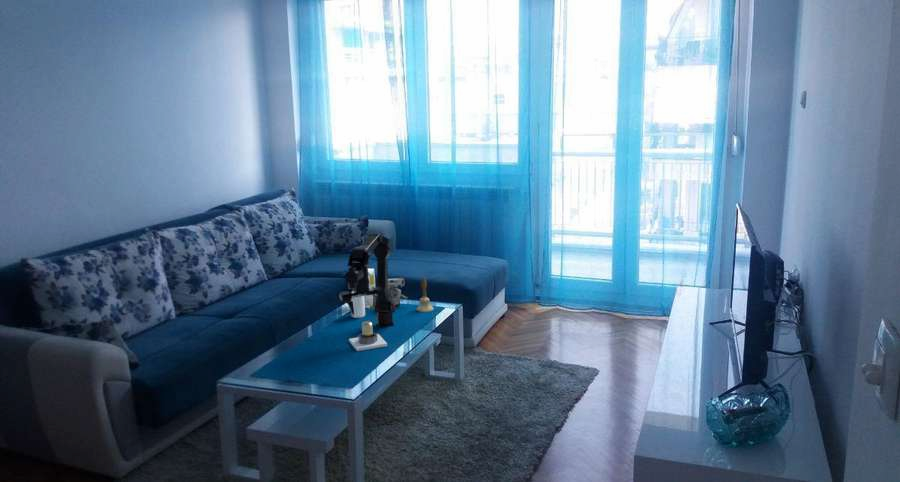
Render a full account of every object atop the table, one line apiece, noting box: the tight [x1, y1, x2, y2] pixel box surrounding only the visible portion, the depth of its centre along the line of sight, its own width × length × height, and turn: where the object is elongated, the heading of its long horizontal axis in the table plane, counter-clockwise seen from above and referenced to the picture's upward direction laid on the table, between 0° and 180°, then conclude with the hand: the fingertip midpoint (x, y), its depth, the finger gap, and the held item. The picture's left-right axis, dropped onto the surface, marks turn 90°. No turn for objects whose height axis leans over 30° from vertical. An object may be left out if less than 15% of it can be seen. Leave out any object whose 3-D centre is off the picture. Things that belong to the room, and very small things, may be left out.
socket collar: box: [357, 332, 378, 344], centre depth 291 cm, size 8×8×2 cm
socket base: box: [348, 333, 388, 352], centre depth 292 cm, size 13×13×1 cm
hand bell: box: [416, 277, 434, 313], centre depth 335 cm, size 8×8×16 cm
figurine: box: [388, 277, 410, 307], centre depth 339 cm, size 9×12×15 cm
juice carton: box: [364, 268, 376, 309], centre depth 343 cm, size 8×9×19 cm
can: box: [350, 290, 366, 319], centre depth 328 cm, size 6×6×12 cm
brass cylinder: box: [361, 320, 374, 338], centre depth 291 cm, size 4×4×8 cm
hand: (363, 313), depth 291 cm, fingers open, 9 cm apart
